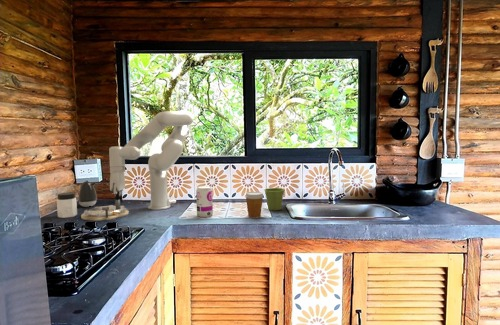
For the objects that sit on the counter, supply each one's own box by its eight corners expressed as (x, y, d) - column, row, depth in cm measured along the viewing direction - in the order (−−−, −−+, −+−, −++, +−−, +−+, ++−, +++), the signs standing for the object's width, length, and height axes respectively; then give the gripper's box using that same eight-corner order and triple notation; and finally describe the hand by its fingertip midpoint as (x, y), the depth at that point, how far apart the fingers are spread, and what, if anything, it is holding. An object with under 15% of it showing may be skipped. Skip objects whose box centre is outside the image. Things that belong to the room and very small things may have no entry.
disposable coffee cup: (252, 213, 172) (252, 191, 171) (267, 215, 167) (267, 192, 166) (241, 216, 164) (241, 193, 163) (256, 219, 159) (256, 195, 158)
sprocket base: (126, 208, 186) (125, 199, 186) (131, 217, 166) (130, 207, 165) (81, 213, 176) (81, 203, 175) (81, 223, 155) (80, 212, 155)
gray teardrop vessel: (92, 207, 188) (91, 182, 187) (75, 208, 189) (73, 182, 187) (100, 204, 199) (99, 179, 197) (84, 204, 199) (82, 180, 198)
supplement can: (215, 214, 170) (215, 186, 169) (207, 218, 162) (206, 188, 161) (202, 213, 173) (202, 185, 172) (193, 216, 166) (193, 187, 165)
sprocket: (130, 207, 182) (129, 196, 182) (120, 216, 162) (119, 203, 161) (92, 208, 179) (91, 197, 179) (77, 217, 159) (76, 205, 159)
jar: (58, 218, 164) (56, 195, 163) (57, 215, 170) (56, 193, 169) (77, 216, 169) (76, 193, 168) (76, 213, 175) (75, 191, 174)
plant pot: (279, 206, 188) (279, 187, 187) (288, 210, 177) (288, 190, 176) (261, 207, 185) (260, 188, 184) (268, 212, 173) (268, 191, 173)
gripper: (115, 168, 180) (117, 200, 182) (104, 171, 165) (106, 206, 167) (129, 168, 180) (130, 200, 182) (119, 170, 165) (120, 205, 167)
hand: (119, 202), depth 174 cm, fingers closed
